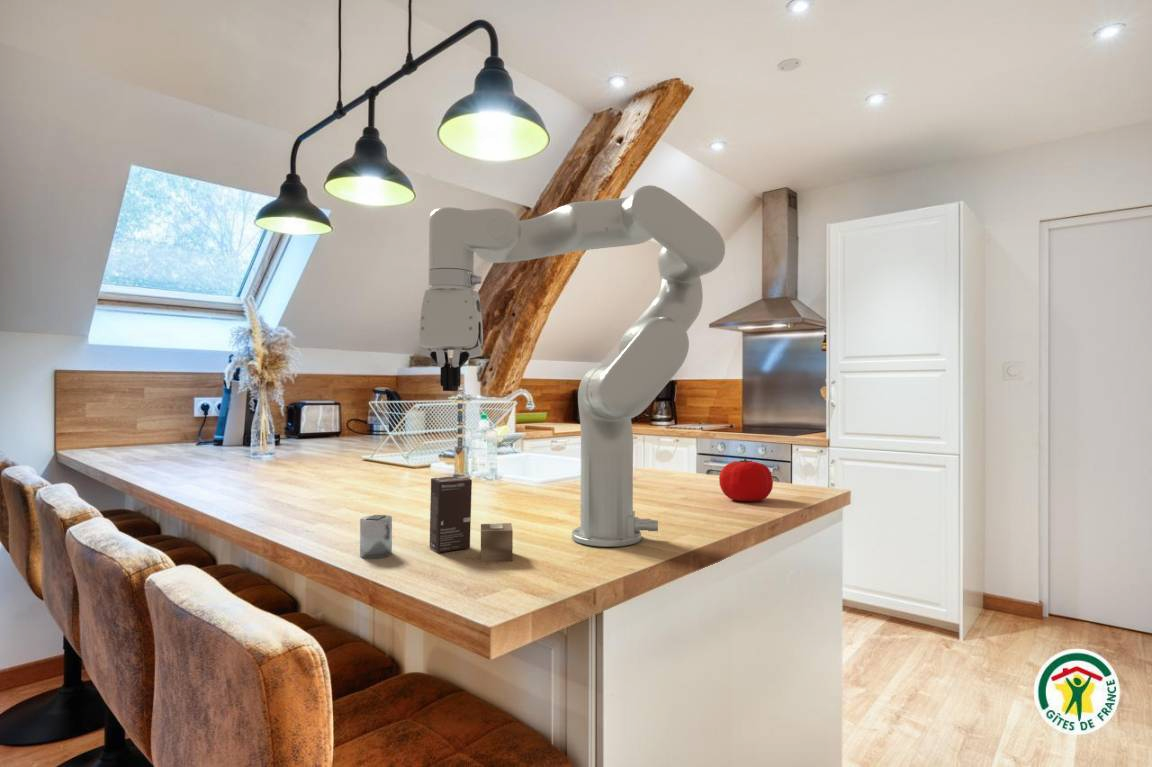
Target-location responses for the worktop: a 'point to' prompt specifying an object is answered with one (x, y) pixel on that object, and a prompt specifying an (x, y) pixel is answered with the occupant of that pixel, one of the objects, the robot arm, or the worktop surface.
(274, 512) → the worktop surface
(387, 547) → the grey tin
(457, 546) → the box
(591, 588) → the worktop surface
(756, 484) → the tomato
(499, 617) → the worktop surface
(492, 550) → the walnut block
